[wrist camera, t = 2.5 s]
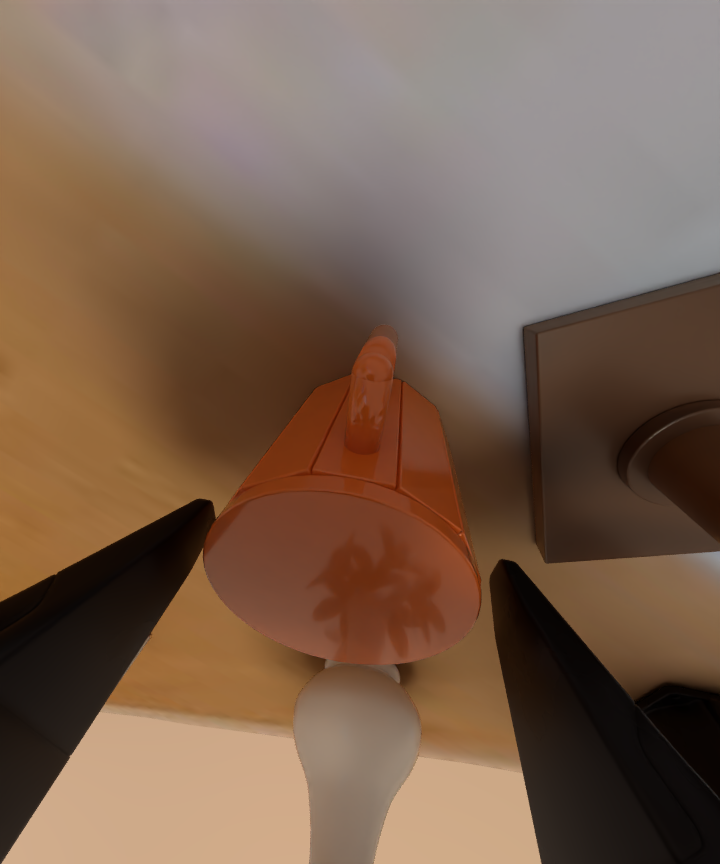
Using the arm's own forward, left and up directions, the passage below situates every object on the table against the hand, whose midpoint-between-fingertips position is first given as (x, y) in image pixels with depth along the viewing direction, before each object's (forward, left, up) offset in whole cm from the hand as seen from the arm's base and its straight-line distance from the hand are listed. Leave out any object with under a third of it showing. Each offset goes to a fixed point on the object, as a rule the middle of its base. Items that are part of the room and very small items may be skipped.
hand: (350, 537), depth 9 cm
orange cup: (+1, 0, -5) cm, 5 cm away
